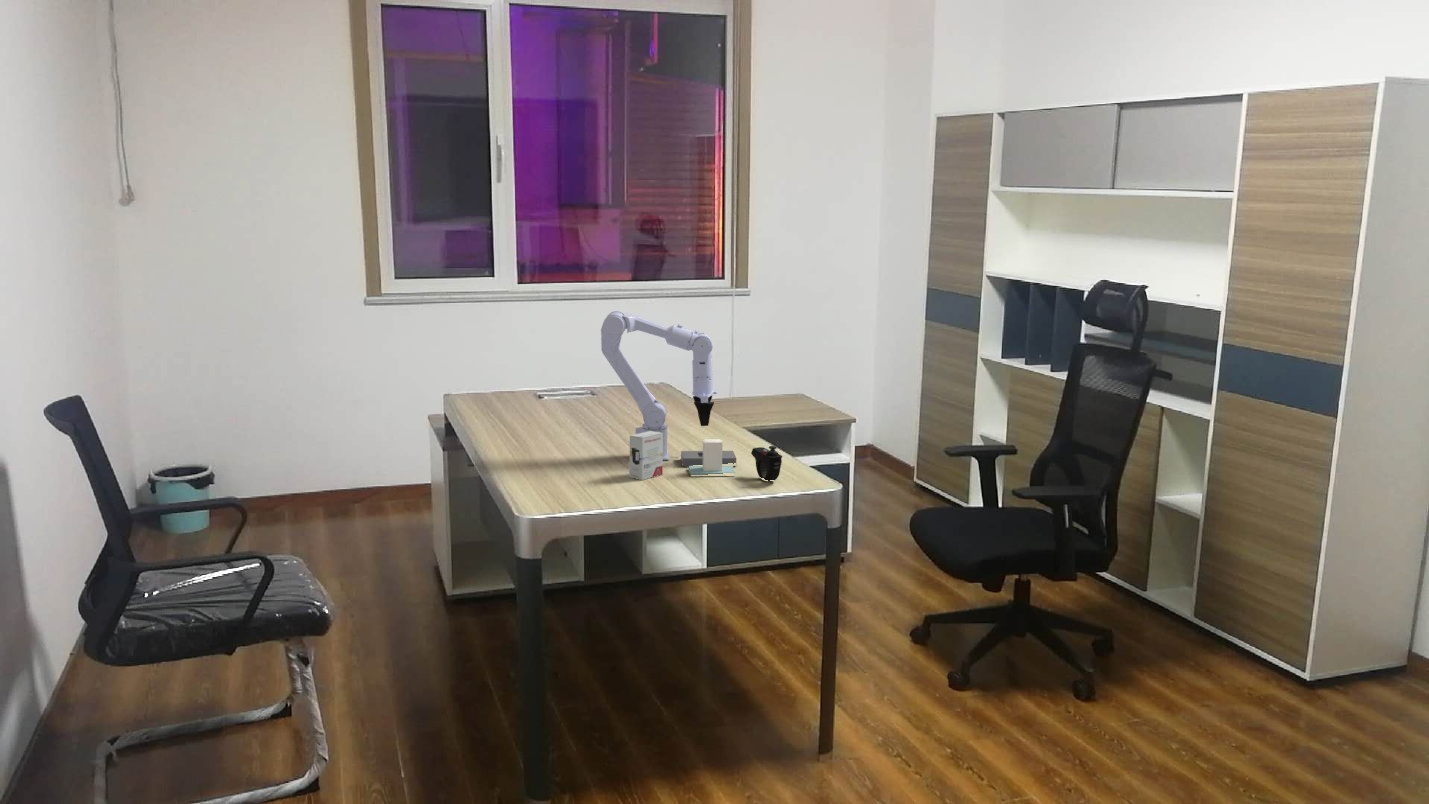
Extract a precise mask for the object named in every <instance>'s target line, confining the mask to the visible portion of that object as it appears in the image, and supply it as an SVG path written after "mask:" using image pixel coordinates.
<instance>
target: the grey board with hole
mask: <svg viewBox="0 0 1429 804" xmlns="http://www.w3.org/2000/svg"><path fill="white" fill-rule="evenodd" d="M736 456H737V455H736V454H735V452H734V450H722V464H728V463H733V464H734V463H736V464H737V457H736ZM681 460H682V461H681ZM680 461H681V465H682V464H683V465H682V467H683V466H693V465H703V450H680Z"/></svg>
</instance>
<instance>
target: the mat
mask: <svg viewBox="0 0 1429 804" xmlns="http://www.w3.org/2000/svg"><path fill="white" fill-rule="evenodd" d="M689 470H690V472H689V474H691V475H708V474H723V473H735V474H736V472H735V470H734V467H732V466H722V471H704V470H703V466H689V467H688V471H689Z"/></svg>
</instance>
